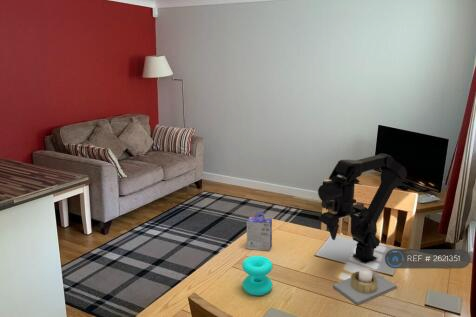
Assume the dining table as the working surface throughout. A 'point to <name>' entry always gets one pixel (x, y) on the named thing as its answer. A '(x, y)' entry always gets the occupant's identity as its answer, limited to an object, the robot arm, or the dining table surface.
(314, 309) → the dining table surface
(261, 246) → the ink cartridge box
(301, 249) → the dining table surface
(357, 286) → the ring
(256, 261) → the donuts
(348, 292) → the post plate
